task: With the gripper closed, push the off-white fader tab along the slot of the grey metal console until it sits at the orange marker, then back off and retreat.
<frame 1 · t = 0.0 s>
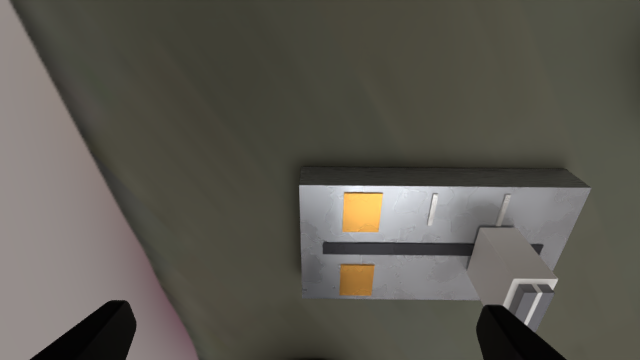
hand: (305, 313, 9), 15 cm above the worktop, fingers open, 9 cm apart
fader tab: (508, 279, 21), point 5 cm above the worktop, slide at 0.0 cm
console: (422, 226, 25), on the worktop
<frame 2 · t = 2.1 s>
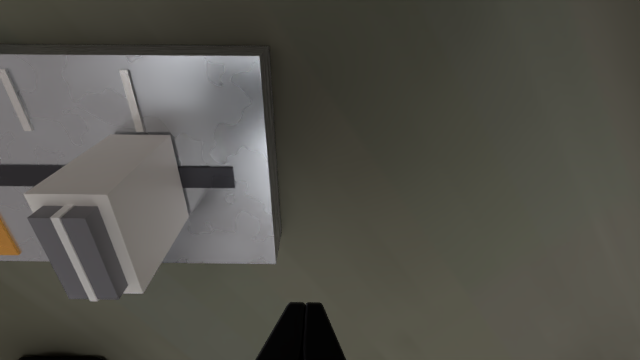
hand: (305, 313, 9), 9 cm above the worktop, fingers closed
fader tab: (121, 212, 12), point 5 cm above the worktop, slide at 0.0 cm
console: (96, 151, 17), on the worktop
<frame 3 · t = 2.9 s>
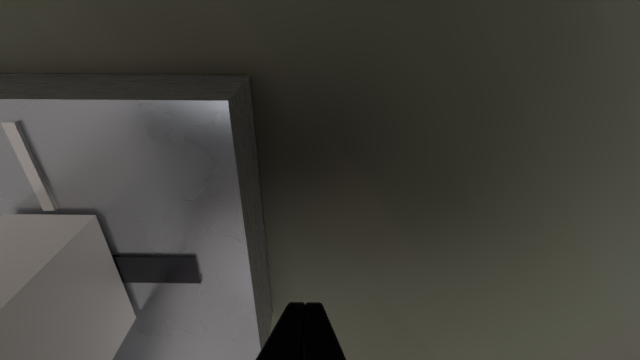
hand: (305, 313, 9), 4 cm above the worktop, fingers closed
fader tab: (3, 354, 8), point 5 cm above the worktop, slide at 0.0 cm
console: (13, 216, 12), on the worktop
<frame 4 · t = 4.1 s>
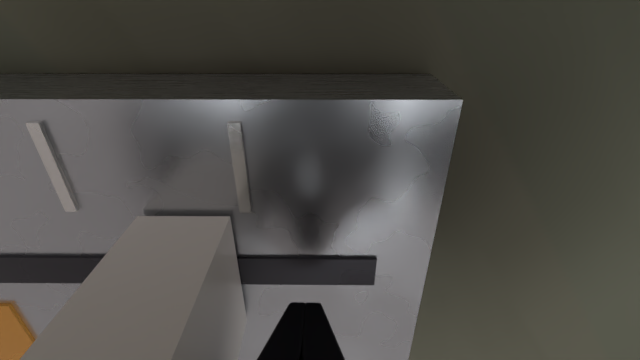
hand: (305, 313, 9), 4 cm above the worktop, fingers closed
fader tab: (159, 358, 7), point 5 cm above the worktop, slide at 1.6 cm, touching gripper
console: (154, 217, 12), on the worktop
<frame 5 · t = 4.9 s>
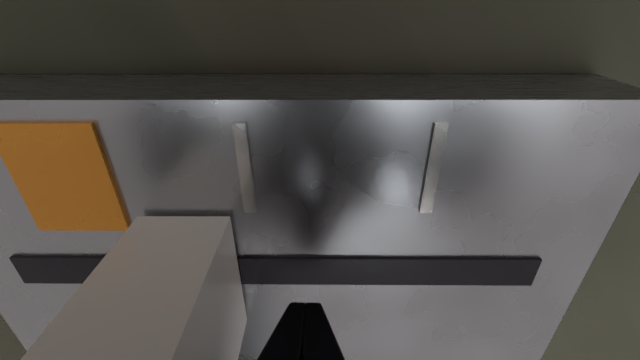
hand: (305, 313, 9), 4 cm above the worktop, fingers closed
fader tab: (160, 358, 7), point 5 cm above the worktop, slide at 6.2 cm, touching gripper
console: (284, 218, 12), on the worktop
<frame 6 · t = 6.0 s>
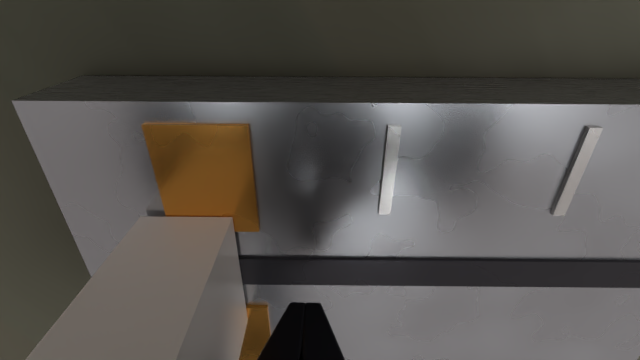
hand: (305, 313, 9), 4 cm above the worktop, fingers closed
fader tab: (162, 357, 8), point 5 cm above the worktop, slide at 9.7 cm, touching gripper
console: (381, 220, 12), on the worktop
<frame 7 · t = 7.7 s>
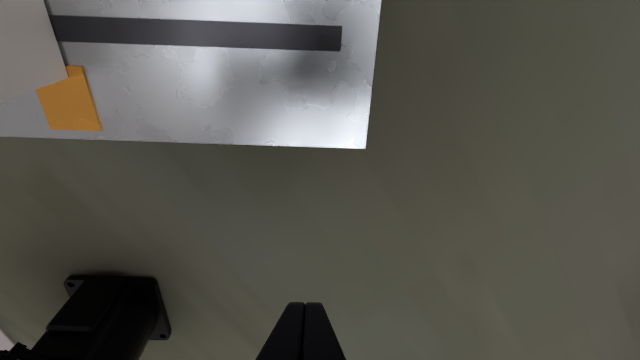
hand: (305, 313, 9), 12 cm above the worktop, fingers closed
console: (184, 26, 16), on the worktop
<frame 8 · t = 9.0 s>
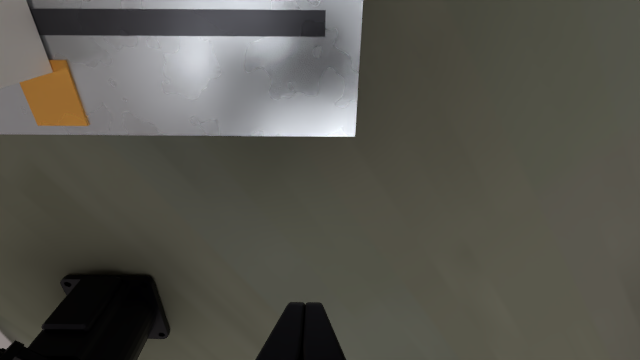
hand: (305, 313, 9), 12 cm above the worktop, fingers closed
console: (168, 18, 16), on the worktop
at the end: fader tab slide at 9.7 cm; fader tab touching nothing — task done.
